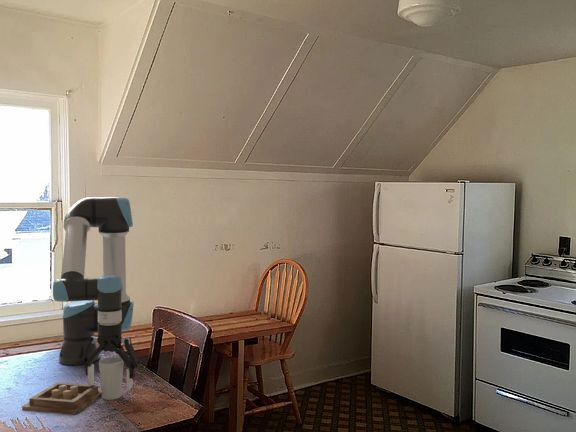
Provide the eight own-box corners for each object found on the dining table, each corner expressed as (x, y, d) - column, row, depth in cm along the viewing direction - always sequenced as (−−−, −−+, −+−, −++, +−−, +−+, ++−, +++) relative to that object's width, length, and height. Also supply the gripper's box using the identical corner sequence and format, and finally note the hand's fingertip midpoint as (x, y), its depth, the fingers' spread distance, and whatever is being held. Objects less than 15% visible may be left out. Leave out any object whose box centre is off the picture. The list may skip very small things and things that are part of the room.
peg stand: (55, 389, 196) (55, 377, 196) (104, 393, 193) (104, 381, 192) (22, 409, 178) (21, 396, 178) (75, 414, 175) (75, 401, 175)
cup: (116, 401, 185) (116, 364, 185) (94, 399, 187) (93, 363, 186) (128, 392, 193) (128, 357, 192) (106, 390, 195) (106, 355, 194)
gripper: (68, 323, 187) (69, 387, 188) (140, 327, 183) (140, 393, 184) (80, 318, 195) (81, 380, 196) (150, 322, 190) (150, 385, 191)
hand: (110, 386), depth 190 cm, fingers open, 13 cm apart
